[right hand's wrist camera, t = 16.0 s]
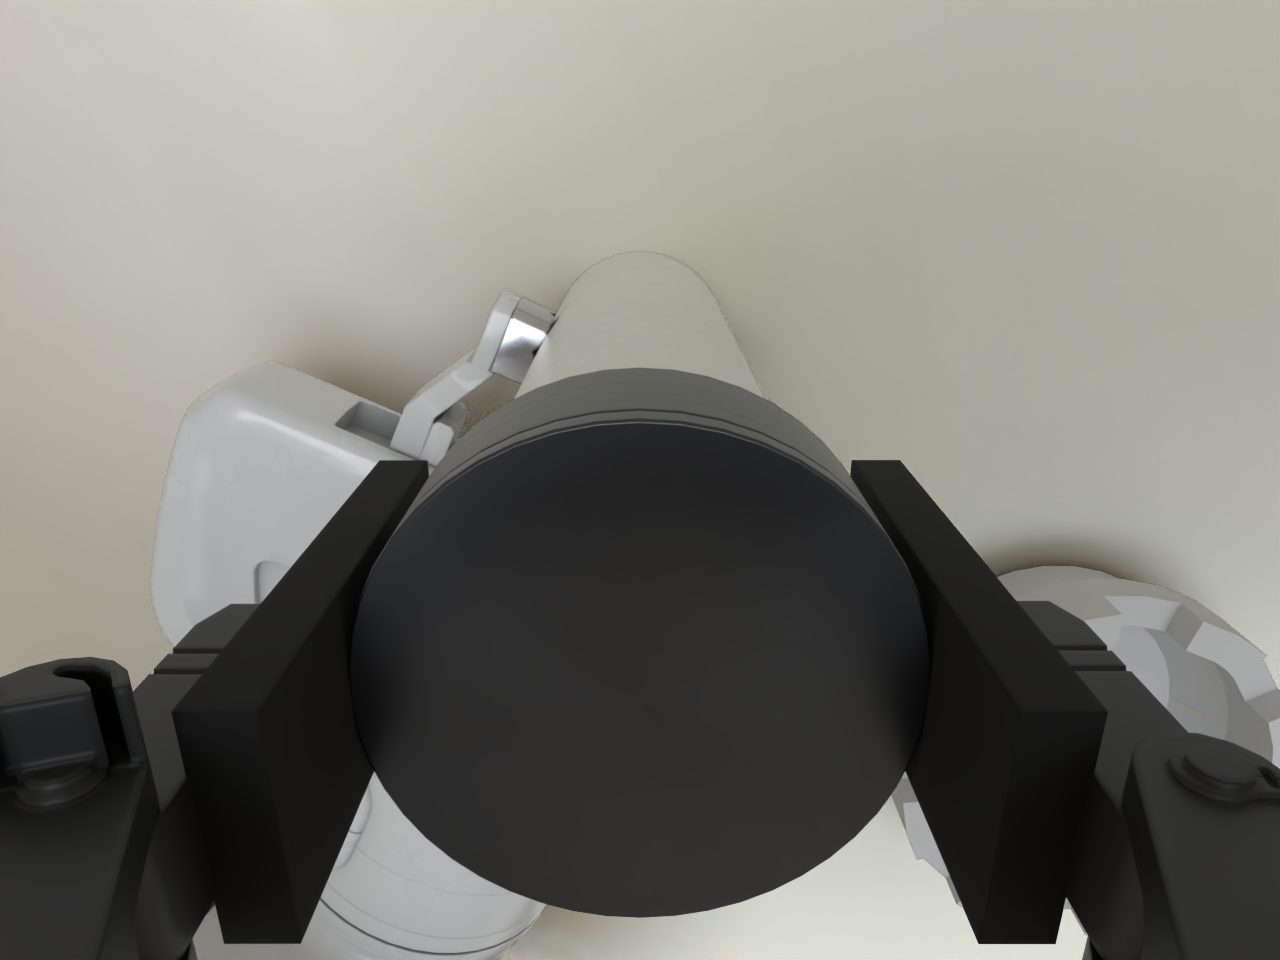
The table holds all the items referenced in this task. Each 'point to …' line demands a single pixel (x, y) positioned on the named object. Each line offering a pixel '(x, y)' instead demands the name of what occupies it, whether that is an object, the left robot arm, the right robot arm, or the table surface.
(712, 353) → the jar
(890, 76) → the table surface
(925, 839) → the flag stand
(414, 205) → the table surface
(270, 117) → the table surface
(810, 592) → the lid
